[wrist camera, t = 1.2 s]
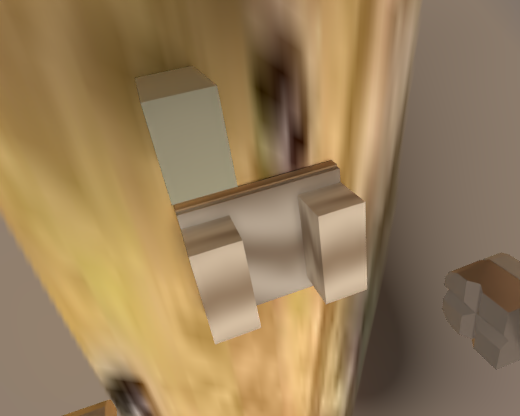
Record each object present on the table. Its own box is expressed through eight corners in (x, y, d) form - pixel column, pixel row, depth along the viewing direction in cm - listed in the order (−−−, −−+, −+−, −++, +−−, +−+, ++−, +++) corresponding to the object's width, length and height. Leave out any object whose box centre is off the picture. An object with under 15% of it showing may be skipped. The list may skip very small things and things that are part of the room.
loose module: (134, 78, 26) (140, 102, 20) (192, 65, 27) (216, 85, 20) (160, 162, 29) (173, 208, 23) (211, 148, 30) (238, 190, 23)
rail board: (173, 205, 31) (183, 239, 27) (331, 160, 34) (364, 184, 29) (206, 312, 37) (219, 356, 32) (338, 267, 40) (367, 301, 35)
